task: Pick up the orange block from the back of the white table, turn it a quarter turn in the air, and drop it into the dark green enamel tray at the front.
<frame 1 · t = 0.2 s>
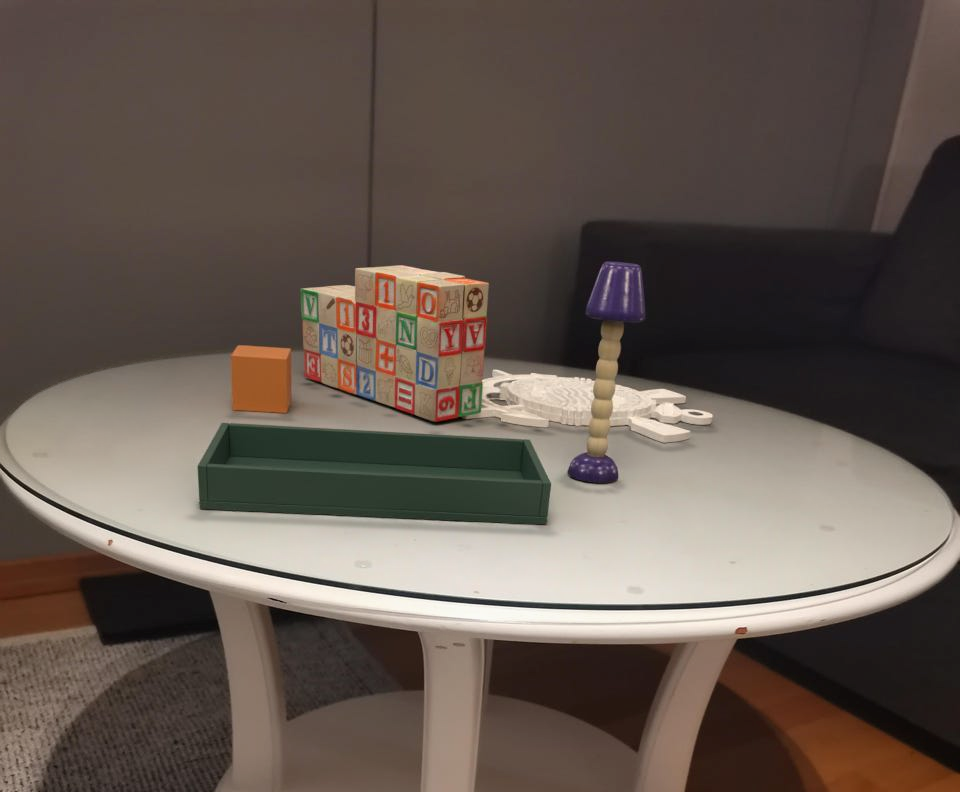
orange block: (262, 405, 93), on the table
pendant: (577, 408, 103), on the table, touching stack of blocks
stack of blocks: (388, 397, 100), on the table, touching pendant
tray: (377, 491, 73), on the table
toy lamp: (593, 477, 81), on the table
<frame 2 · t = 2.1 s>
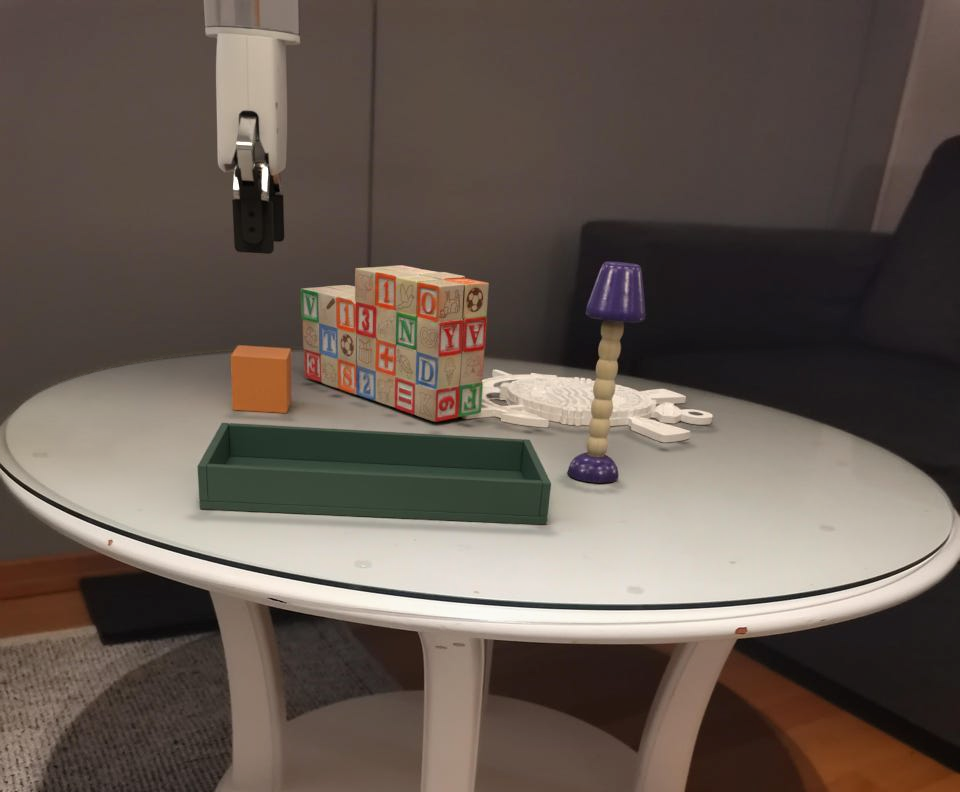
hand: (261, 246, 86), 14 cm above the table, tool pointing down, fingers open, 9 cm apart
nothing on the table moved.
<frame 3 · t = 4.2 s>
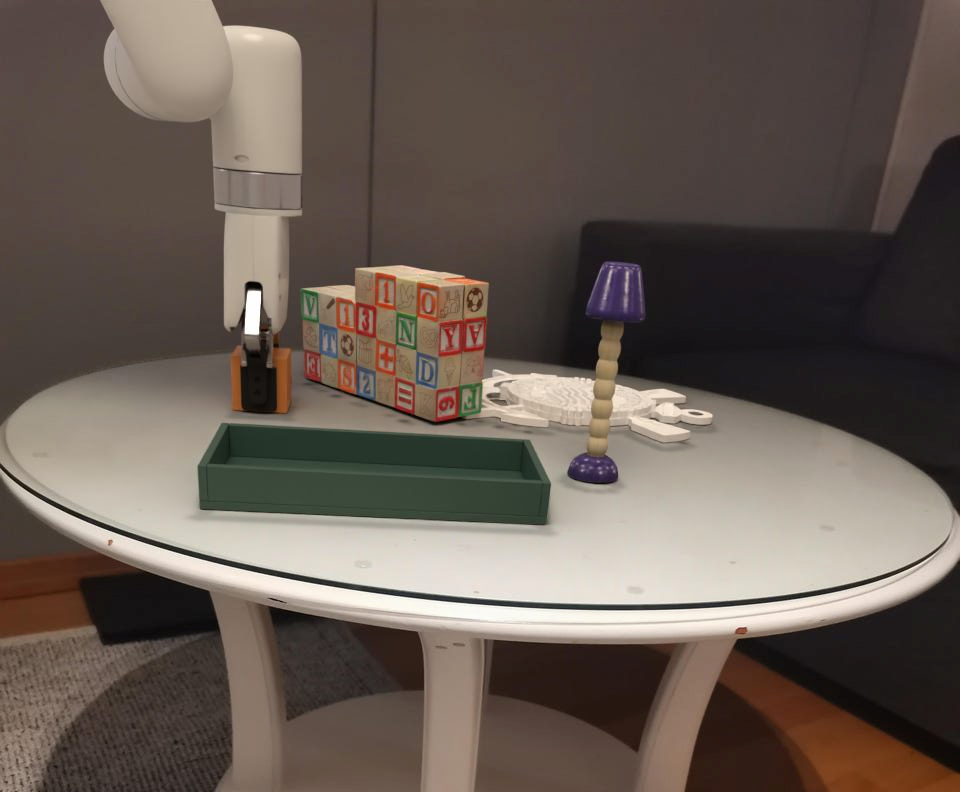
hand: (262, 400, 93), 0 cm above the table, tool pointing down, fingers closed on orange block, 5 cm apart
orange block: (262, 405, 93), on the table, touching gripper
everything else where it was.
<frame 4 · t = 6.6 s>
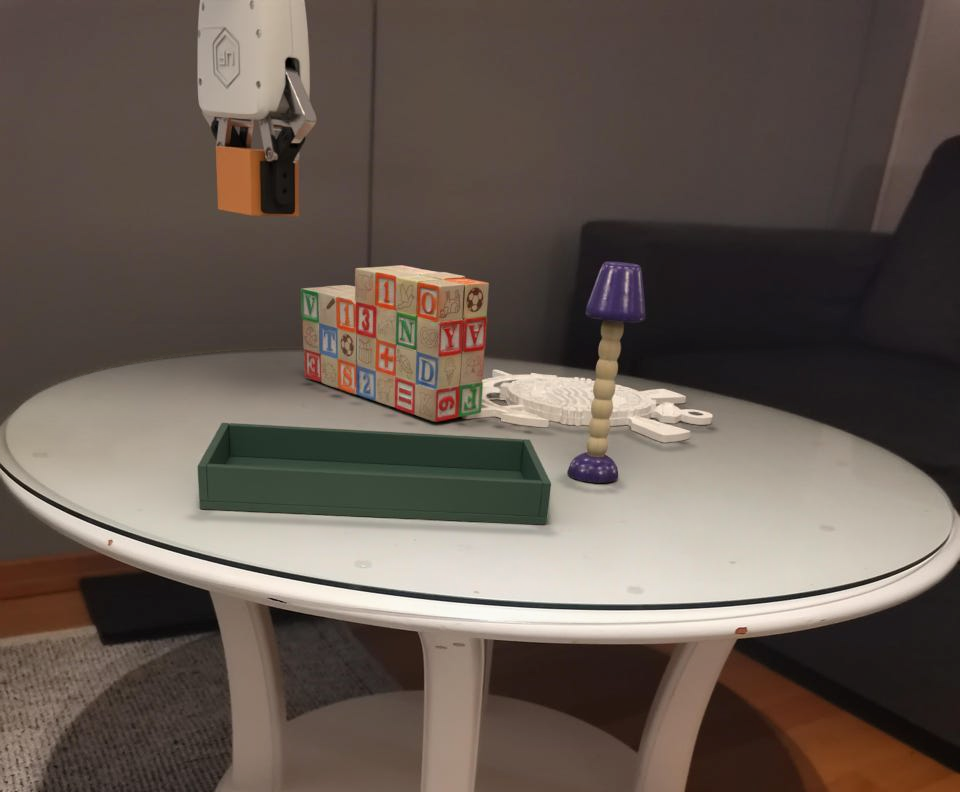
hand: (258, 207, 85), 17 cm above the table, tool pointing down, fingers closed on orange block, 5 cm apart
orange block: (258, 213, 85), point 17 cm above the table, touching gripper
everything else where it was.
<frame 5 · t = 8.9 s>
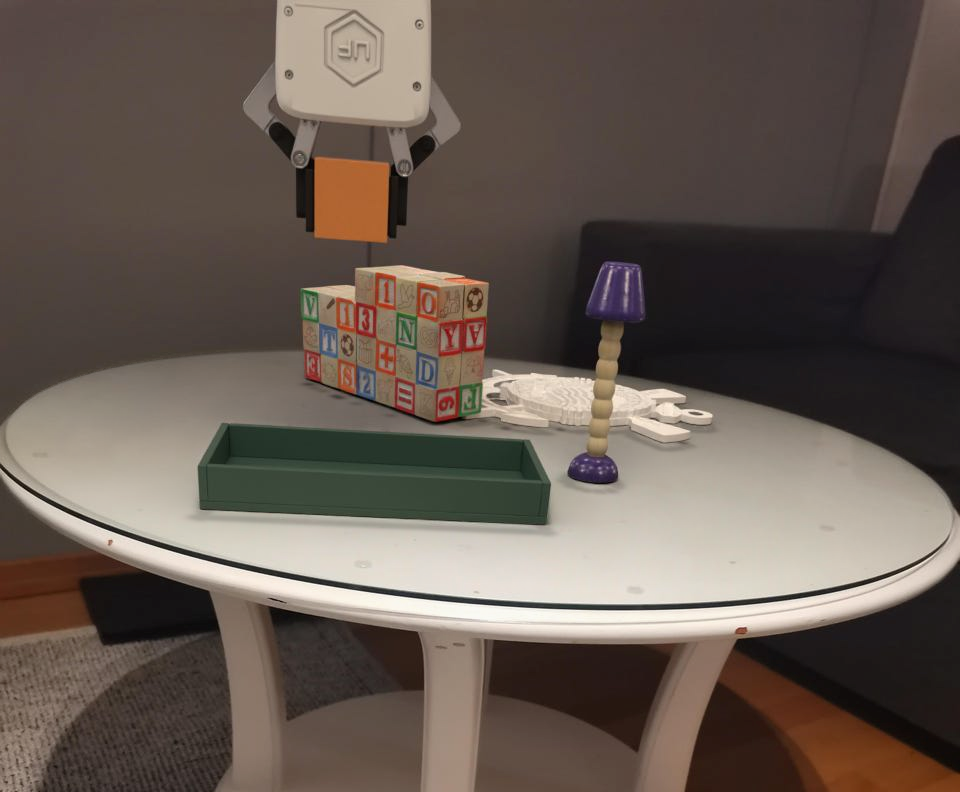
hand: (351, 230, 70), 18 cm above the table, tool pointing down, fingers closed on orange block, 5 cm apart
orange block: (351, 237, 70), point 17 cm above the table, touching gripper
everything else where it was.
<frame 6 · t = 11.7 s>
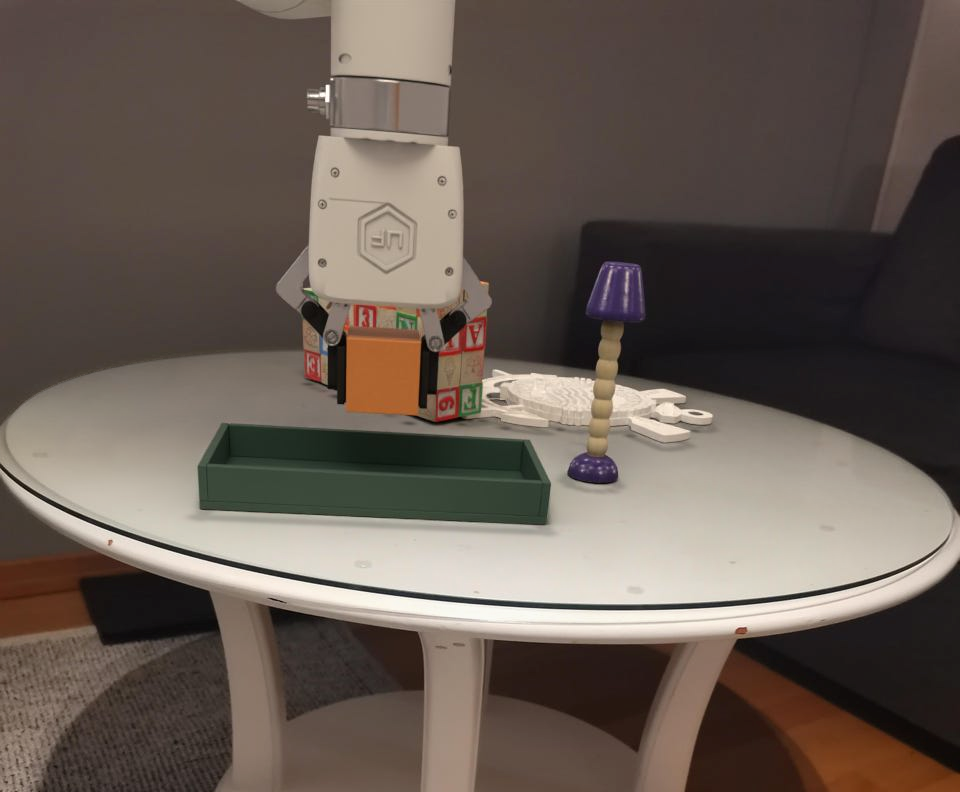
hand: (382, 399, 70), 7 cm above the table, tool pointing down, fingers closed on orange block, 5 cm apart
orange block: (382, 405, 70), point 7 cm above the table, touching gripper
everything else where it was.
when the fingers open (1 cm above the table, at t = 13.7 s): orange block stays where it is, resting on tray.
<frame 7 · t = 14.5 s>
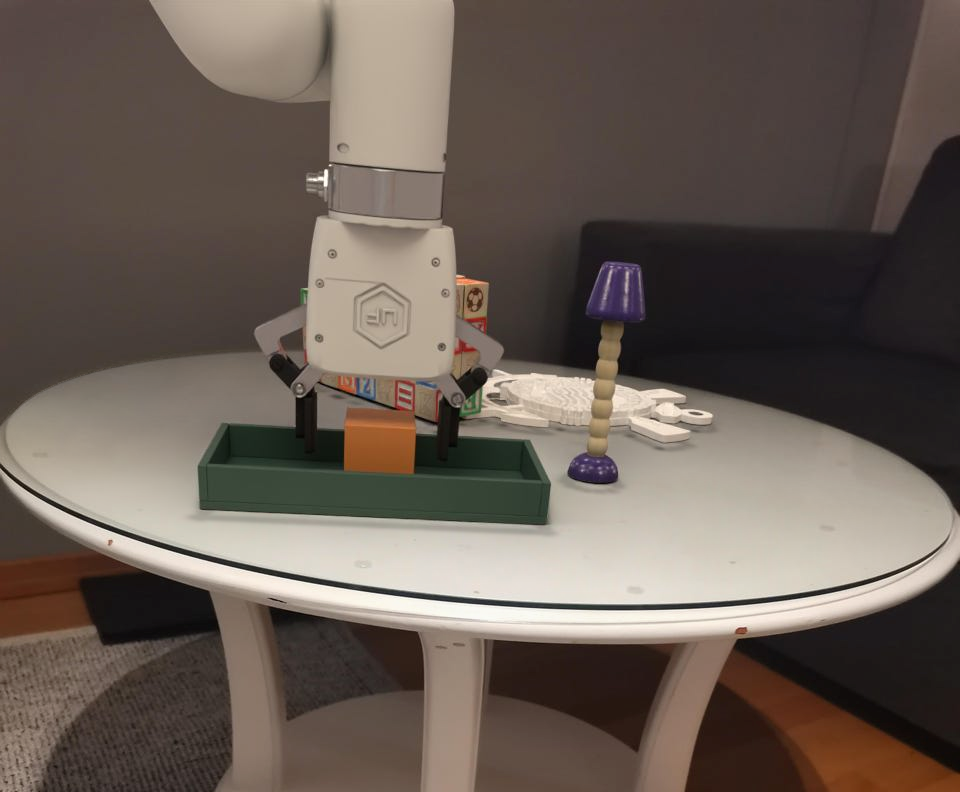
hand: (376, 452, 72), 3 cm above the table, tool pointing down, fingers open, 9 cm apart
orange block: (378, 483, 73), point 1 cm above the table, touching tray
everything else where it was.
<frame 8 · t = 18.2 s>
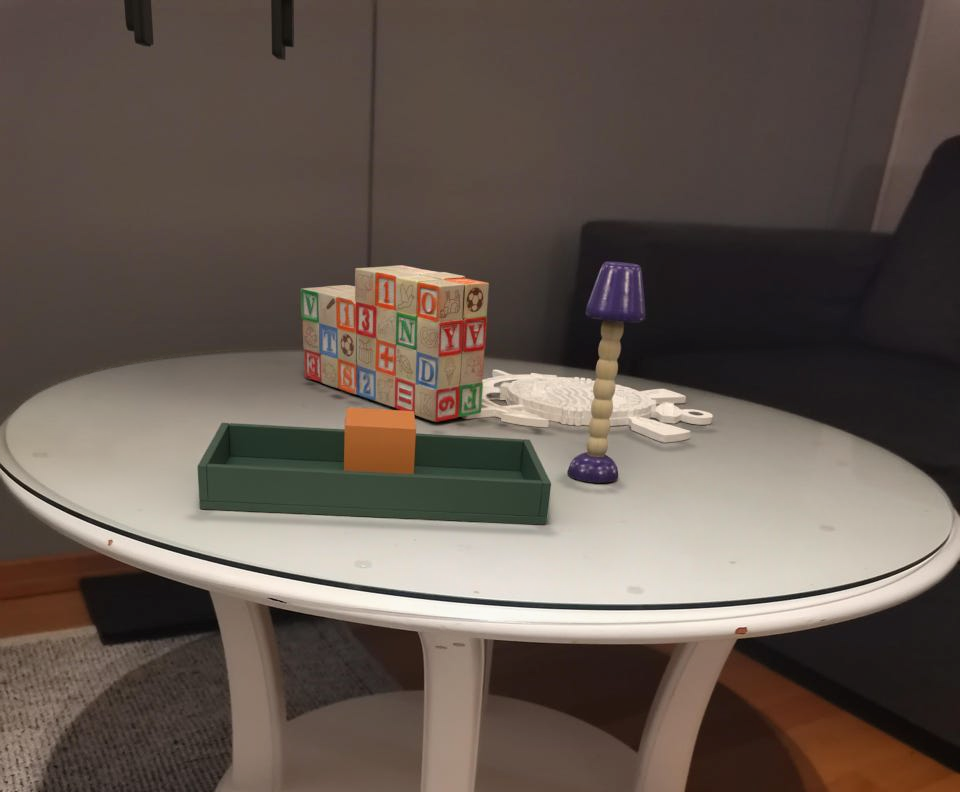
hand: (212, 51, 71), 28 cm above the table, tool pointing down, fingers open, 9 cm apart
nothing on the table moved.
at the end: orange block inside the target area in the tray (0.1 cm from its centre), point 0.6 cm above the tray's base; the gripper is holding nothing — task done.
